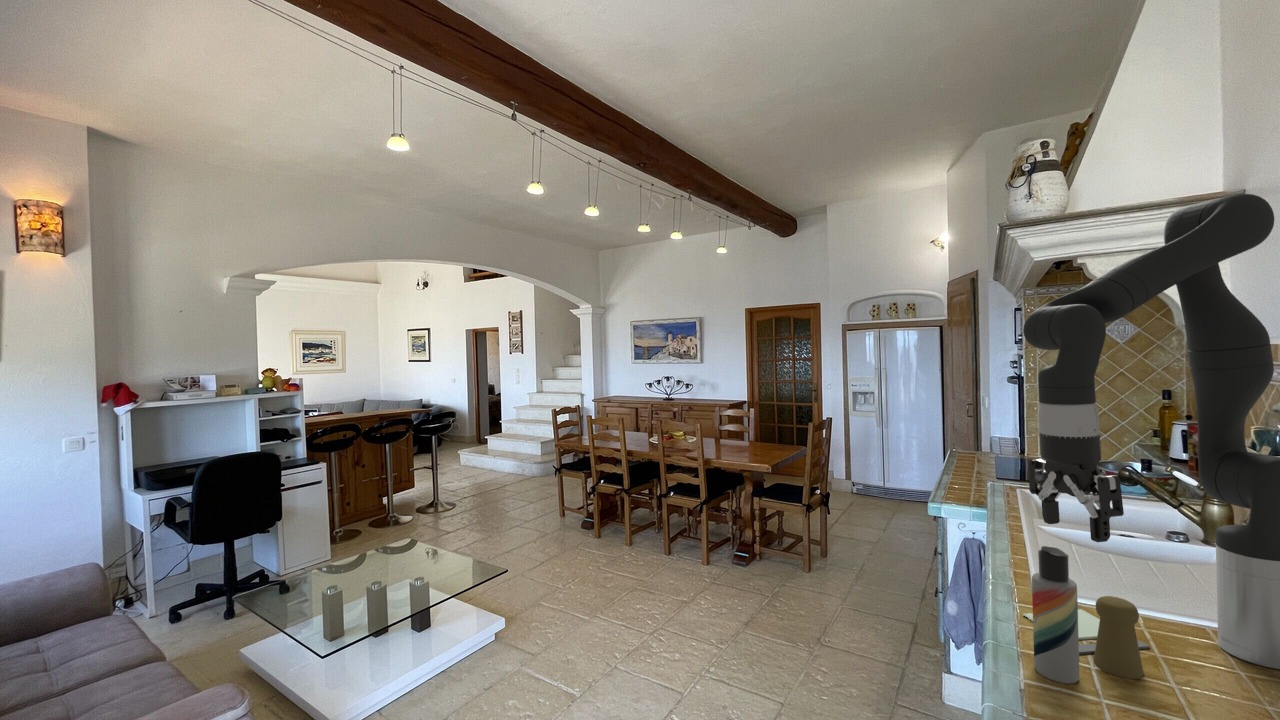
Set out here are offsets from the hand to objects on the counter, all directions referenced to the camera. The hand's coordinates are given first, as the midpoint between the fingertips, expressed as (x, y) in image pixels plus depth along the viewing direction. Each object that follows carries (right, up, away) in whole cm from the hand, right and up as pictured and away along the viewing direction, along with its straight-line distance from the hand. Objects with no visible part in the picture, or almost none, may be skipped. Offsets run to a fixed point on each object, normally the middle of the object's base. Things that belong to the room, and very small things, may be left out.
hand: (1074, 531), depth 84 cm
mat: (+11, -22, +14) cm, 28 cm away
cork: (+8, -22, +1) cm, 24 cm away
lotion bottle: (-3, -23, 0) cm, 23 cm away
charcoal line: (+9, -22, +6) cm, 25 cm away
